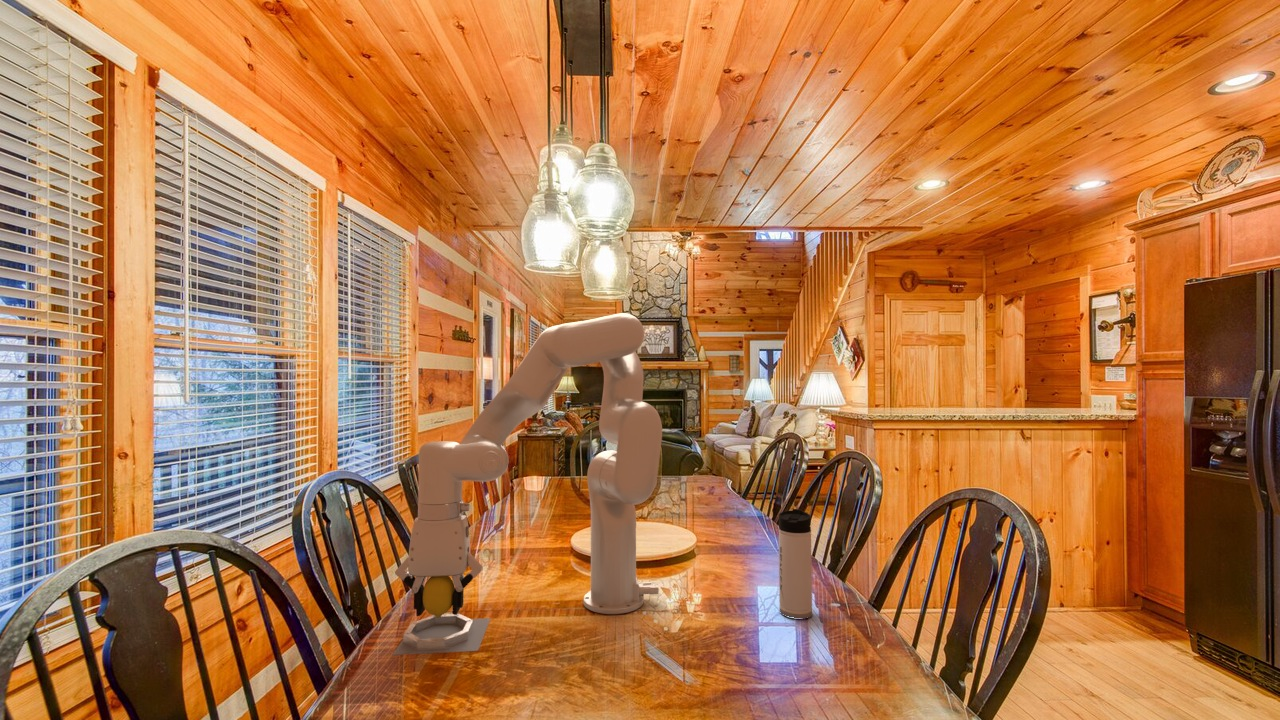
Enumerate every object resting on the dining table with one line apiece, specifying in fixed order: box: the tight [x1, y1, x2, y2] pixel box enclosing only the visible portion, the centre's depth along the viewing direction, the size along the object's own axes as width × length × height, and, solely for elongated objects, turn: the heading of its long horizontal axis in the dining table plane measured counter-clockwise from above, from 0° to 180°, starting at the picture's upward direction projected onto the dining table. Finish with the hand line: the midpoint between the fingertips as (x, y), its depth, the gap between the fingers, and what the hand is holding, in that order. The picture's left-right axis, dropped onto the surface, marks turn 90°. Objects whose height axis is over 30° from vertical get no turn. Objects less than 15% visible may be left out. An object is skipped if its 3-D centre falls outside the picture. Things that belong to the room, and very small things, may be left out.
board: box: [392, 617, 491, 656], centre depth 101 cm, size 14×13×1 cm
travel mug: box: [778, 508, 813, 618], centre depth 113 cm, size 6×7×20 cm
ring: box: [402, 613, 473, 651], centre depth 101 cm, size 11×11×2 cm
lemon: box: [423, 576, 455, 618], centre depth 102 cm, size 6×6×8 cm
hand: (438, 611), depth 101 cm, fingers closed on lemon, 5 cm apart
